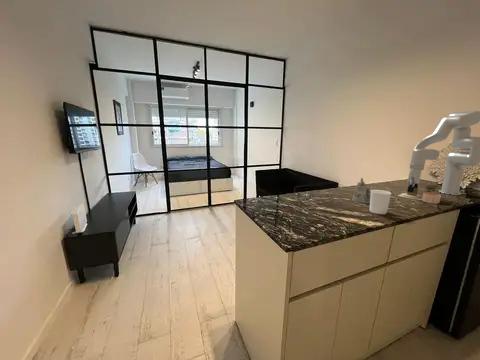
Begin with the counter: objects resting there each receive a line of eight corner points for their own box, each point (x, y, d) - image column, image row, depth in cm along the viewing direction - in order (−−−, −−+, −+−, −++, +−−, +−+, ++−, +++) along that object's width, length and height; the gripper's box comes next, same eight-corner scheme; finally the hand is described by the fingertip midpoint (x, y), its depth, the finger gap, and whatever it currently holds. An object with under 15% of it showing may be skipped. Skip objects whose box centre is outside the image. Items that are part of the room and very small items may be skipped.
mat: (403, 193, 156) (403, 192, 156) (425, 197, 146) (425, 196, 146) (397, 196, 148) (397, 195, 148) (420, 201, 138) (420, 200, 138)
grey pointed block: (348, 200, 140) (353, 178, 137) (357, 196, 151) (361, 176, 148) (374, 207, 129) (380, 184, 126) (381, 202, 140) (387, 181, 137)
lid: (404, 193, 154) (405, 185, 153) (423, 196, 146) (425, 188, 145) (399, 195, 148) (401, 187, 146) (419, 199, 139) (421, 190, 138)
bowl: (423, 199, 141) (425, 191, 140) (439, 203, 135) (441, 194, 133) (420, 202, 136) (421, 193, 135) (437, 205, 130) (439, 196, 128)
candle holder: (385, 216, 112) (388, 195, 110) (365, 211, 120) (368, 191, 117) (390, 212, 119) (393, 192, 116) (371, 207, 126) (373, 188, 123)
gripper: (413, 165, 150) (409, 188, 154) (406, 167, 140) (401, 191, 144) (427, 166, 145) (422, 190, 148) (420, 168, 134) (415, 194, 138)
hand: (412, 191), depth 146 cm, fingers open, 9 cm apart
